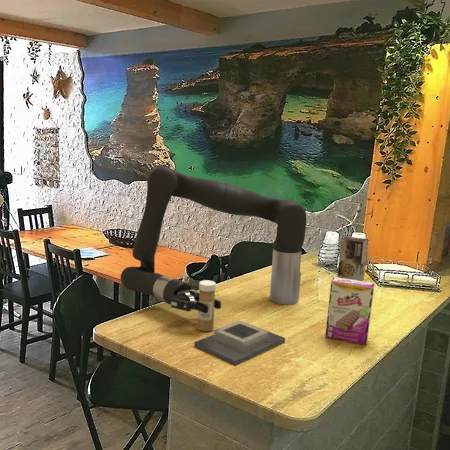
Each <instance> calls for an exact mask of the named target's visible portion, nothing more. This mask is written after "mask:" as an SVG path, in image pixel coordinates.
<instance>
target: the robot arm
mask: <svg viewBox="0 0 450 450" xmlns="http://www.w3.org/2000/svg"><path fill="white" fill-rule="evenodd" d="M146 184H147V185H146V187H147V190H146V200H145V206H144V211H143V215H142V218H141V221H140V224H139V228H138V230H137V234H136V237H135V240H134V245H133V249H132V257H133V259H135V260H137V261H139V262H140V266H128V267H126V268H124V269H123V270H122V272H121V273H120V276H119V277H120V282H121V285H122V286H123V287H124V288H125V289H127V290H129V291H133V292H137V293H143V294H146V295H149V296H150V297H153V298H156V299H158V300H159V301H161V302H163V303H165V304H168V305H170V307H171V308H173V309H177V310H180V311H185V312H191V310H192V311H201V312H203V313H208V305H206V304H204V303H201V302H199V290H196V289H192V287H191V286H190V284H189V283H188V282H186V281H183V280H180V279H177V278H174V277H171V276H166V275H163V274H161V273H156V272H155V271H156V269H155V266H156V265H155V256H156V253H157V248H158V244H159V242H160V237H161V233H162V228H163V227H162V226H163V221H164V217H165V213H166V211H167V208H168V206H169V204H170V201H171V198H172V197H176V198H182V199H184V200H189V201H192V202H194V203H196V204H198V205H201V206H203V207H205V208H208V209H210V210H213V211H215V212H220V213H223V214H224V213H225V214H228V215H233V216H241V217H255V218H259V219H264V220H266V221H269V222H272V223H273V224H274V223H275V224H276V225H277V227H276V237H275V239H274V241H273V246H272V247H273V249H272V262H271V275H270V276H271V277H270V290H269V291H270V292H269V300H270V301H271V302H273V303H274V304H279V305H294V304H297V303H298V300H300V291H301V290H300V289H301V280H302V279H301V276H302V272H301V264H302V260H301V259H302V250H303V245H304V242H305V236H306V228H307V213H306V209H305V208H304V207H303V206H302V205H301V204H300V203H298V202H297V201H295V200H292V199H285V198H276V197H271V196H267V195H263V194H259V193H257V192H254V191H252V190H250V189H247V188H245V187H241V186H238V185H233V184H231V183H227V182H223V181H219V180H213V179H206V178H200V177H195V176H191V175H188V174H185V173H183V172H180V171H177V170H174V169H172V168H170V167H167V166H156V167H154V168H152V170H151V171H150V172H149V174H148V175H147V179H146ZM221 308H222V302H221V300H218V299H216V298H215V299H214V309H217V310H219V309H221Z"/></svg>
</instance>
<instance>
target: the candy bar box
mask: <svg viewBox="0 0 450 450" xmlns="http://www.w3.org/2000/svg"><path fill="white" fill-rule="evenodd" d="M374 292H375V283H374V282H370V281H364V280H362V281H358V280H351V279H345V278H339V277H338V276H333V278H332V279H331V282H330V291H329V300H328V309H327V316H326V328H325V334H324V335H325V338H327V339H332V340H336V341H337V340H338V341H344V342H349V343H354V344H358V343H359V344H358V345H363V344H365V346H366V345H367V342H368V338H369V330H370V322H371V314H372V307H373V299H374Z"/></svg>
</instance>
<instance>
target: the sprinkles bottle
mask: <svg viewBox="0 0 450 450" xmlns="http://www.w3.org/2000/svg"><path fill="white" fill-rule="evenodd" d="M216 286H217V283H216V282H215V281H213V280H208V279H206V280H201V281H199V283H198V292H199V302H201V303H204V304H206V305H208V313H203V312H201V311H198V310H197V311H198V315H197V317H198V320H197V321H198V322H197V323H198V324H197V329H198V330H199V331H201V332H211V331H214V329H215V326H214V322H215V320H214V319H215V308H214V299H216V288H217V287H216Z"/></svg>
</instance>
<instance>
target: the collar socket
mask: <svg viewBox="0 0 450 450" xmlns="http://www.w3.org/2000/svg"><path fill="white" fill-rule="evenodd" d="M284 343H286V337H284V336H281V335H278V334H276V333H273V332H272V331H268V330H265V329H263V328H261V327H257V326H256V325H253V324H250V323H247V322H245V321H242V320H237V321H234V322H232V323H229V324H226V325H224V326H221V327H219V328H215V329H213V334H211V335H209V336H206V337H204V338H202V339H198V340H196V341H194V342H193V346H194V347H195V348H196V349H199V350H201V351H202V352H205V353H207V354H209V355H212V356H214V357H216V358H218V359H220V360H222V361H224V362H226V363H228V364H231V365H233V366H238V365H240V364H242V363H244V362H246V361H249V360H251V359H253V358H255V357H257V356H258V355H259V356H260V355H262V354H263V353H266V352H267V351H270V350H271V349H275V347H278V346H280V345H282V344H284Z"/></svg>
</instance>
